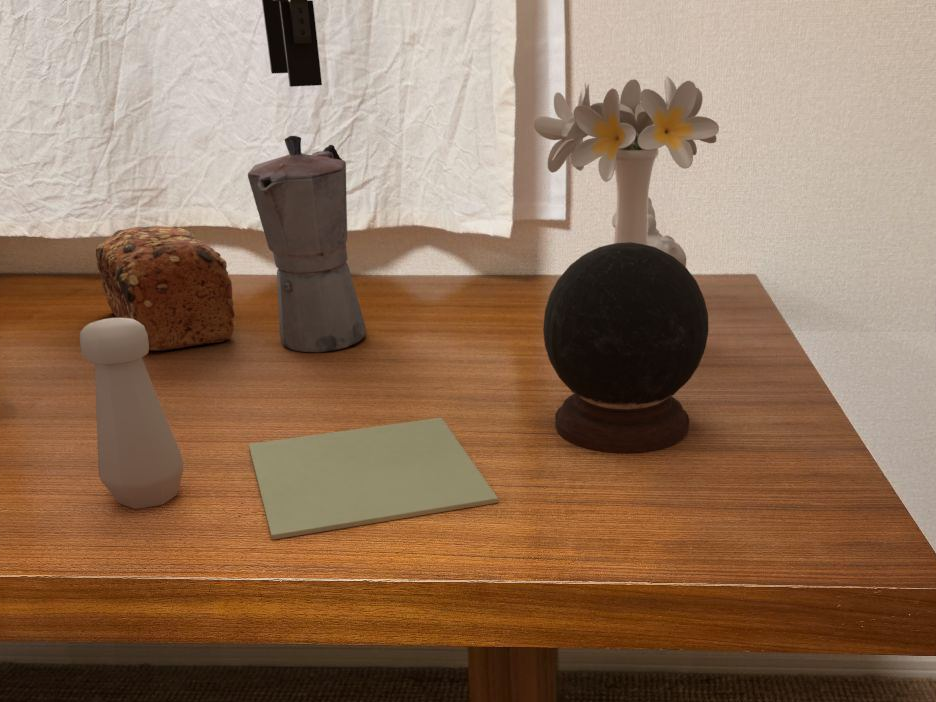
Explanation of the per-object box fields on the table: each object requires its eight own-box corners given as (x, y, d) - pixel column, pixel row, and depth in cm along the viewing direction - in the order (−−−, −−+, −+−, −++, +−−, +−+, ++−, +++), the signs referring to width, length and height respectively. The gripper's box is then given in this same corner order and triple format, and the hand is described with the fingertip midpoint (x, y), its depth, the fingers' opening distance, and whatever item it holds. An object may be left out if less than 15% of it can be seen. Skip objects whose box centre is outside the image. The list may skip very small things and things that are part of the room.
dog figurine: (637, 279, 125) (641, 189, 120) (691, 305, 115) (697, 209, 110) (599, 284, 123) (601, 193, 118) (650, 311, 113) (654, 213, 108)
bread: (242, 341, 104) (227, 244, 100) (135, 359, 100) (113, 257, 95) (199, 297, 119) (184, 210, 114) (104, 311, 114) (84, 220, 109)
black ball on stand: (510, 428, 84) (507, 246, 77) (608, 385, 93) (613, 218, 86) (637, 473, 77) (647, 276, 69) (730, 422, 85) (748, 242, 78)
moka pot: (246, 358, 100) (212, 144, 90) (312, 313, 113) (290, 121, 103) (335, 366, 98) (311, 147, 88) (392, 319, 111) (377, 124, 101)
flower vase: (575, 315, 112) (578, 67, 100) (729, 344, 103) (753, 75, 91) (508, 347, 102) (502, 78, 90) (671, 382, 94) (689, 88, 81)
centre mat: (272, 540, 68) (271, 535, 68) (249, 448, 81) (248, 443, 81) (498, 502, 73) (498, 497, 72) (442, 421, 86) (441, 417, 86)
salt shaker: (92, 495, 74) (49, 322, 67) (166, 471, 77) (131, 304, 71) (128, 522, 70) (86, 341, 64) (203, 496, 74) (171, 322, 67)
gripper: (332, -227, 74) (360, 89, 84) (287, -184, 94) (315, 66, 105) (226, -232, 71) (269, 94, 82) (204, -187, 92) (241, 69, 102)
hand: (295, 79), depth 93 cm, fingers open, 13 cm apart
